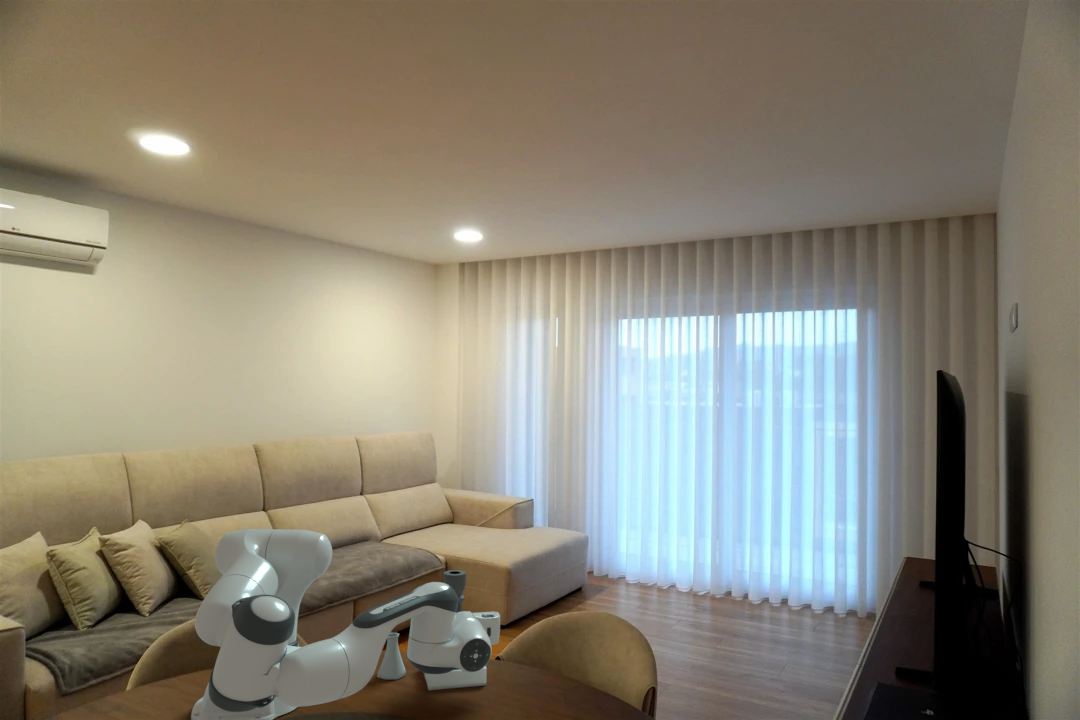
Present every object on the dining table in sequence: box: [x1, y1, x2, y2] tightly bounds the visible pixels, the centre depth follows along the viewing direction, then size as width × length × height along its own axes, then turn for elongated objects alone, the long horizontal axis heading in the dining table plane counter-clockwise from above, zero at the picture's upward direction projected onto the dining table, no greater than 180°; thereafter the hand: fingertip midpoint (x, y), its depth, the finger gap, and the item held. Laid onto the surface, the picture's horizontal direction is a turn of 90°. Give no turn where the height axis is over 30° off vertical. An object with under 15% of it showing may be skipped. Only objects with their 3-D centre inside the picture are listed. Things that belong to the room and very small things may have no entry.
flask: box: [376, 632, 407, 680], centre depth 176 cm, size 7×7×10 cm
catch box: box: [423, 665, 488, 691], centre depth 176 cm, size 14×14×4 cm
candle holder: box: [443, 569, 467, 670], centre depth 177 cm, size 6×6×25 cm
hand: (454, 614), depth 177 cm, fingers open, 5 cm apart
